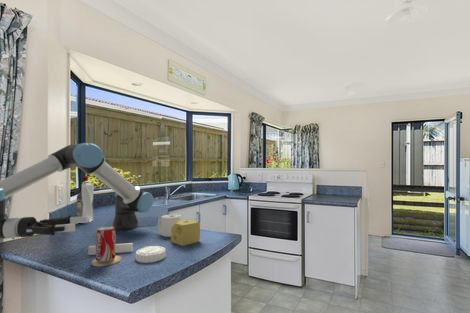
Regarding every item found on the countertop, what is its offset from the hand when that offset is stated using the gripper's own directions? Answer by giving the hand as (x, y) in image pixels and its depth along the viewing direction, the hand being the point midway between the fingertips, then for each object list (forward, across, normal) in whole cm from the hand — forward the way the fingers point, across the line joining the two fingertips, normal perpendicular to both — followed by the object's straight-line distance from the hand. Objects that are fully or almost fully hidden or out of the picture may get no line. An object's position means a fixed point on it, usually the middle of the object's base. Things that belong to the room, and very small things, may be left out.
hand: (81, 223), depth 109 cm
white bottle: (-23, -79, -17) cm, 84 cm away
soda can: (+9, +3, -15) cm, 18 cm away
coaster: (+10, +2, -16) cm, 18 cm away
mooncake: (+27, +2, -16) cm, 31 cm away
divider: (+9, -8, -16) cm, 20 cm away
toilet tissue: (+33, -33, -17) cm, 50 cm away
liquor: (-29, -93, -17) cm, 99 cm away
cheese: (+41, -17, -17) cm, 48 cm away
